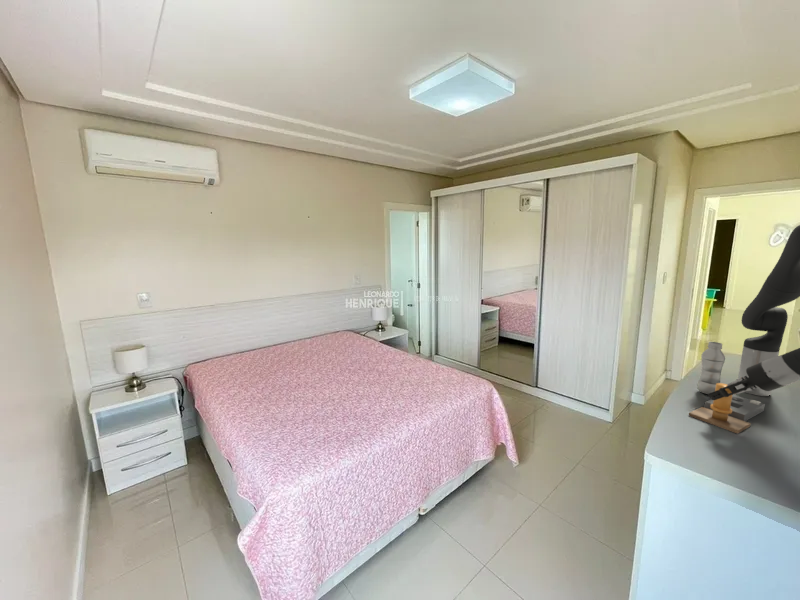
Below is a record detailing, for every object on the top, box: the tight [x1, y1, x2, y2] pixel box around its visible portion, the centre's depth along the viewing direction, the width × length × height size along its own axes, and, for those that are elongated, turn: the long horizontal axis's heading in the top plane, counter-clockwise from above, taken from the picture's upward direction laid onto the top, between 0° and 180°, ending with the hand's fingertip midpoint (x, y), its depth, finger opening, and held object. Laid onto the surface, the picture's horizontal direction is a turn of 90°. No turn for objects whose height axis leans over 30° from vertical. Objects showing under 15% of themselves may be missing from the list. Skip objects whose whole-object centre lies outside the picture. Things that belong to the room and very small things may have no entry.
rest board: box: [688, 406, 751, 434], centre depth 106 cm, size 9×12×1 cm
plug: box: [710, 382, 732, 421], centre depth 105 cm, size 5×5×11 cm
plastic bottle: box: [696, 341, 726, 395], centre depth 124 cm, size 6×7×20 cm
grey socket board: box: [703, 394, 766, 422], centre depth 113 cm, size 16×10×3 cm, turn 117°
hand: (717, 394), depth 106 cm, fingers open, 8 cm apart
